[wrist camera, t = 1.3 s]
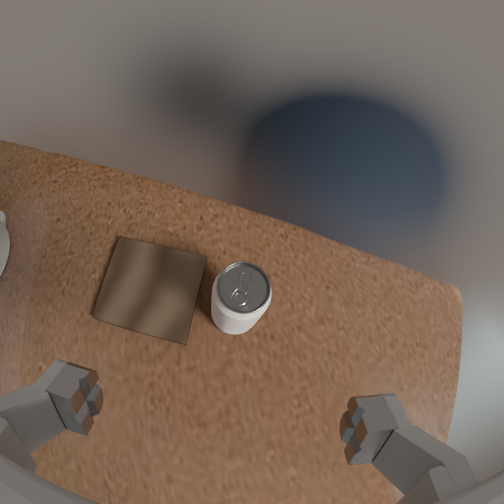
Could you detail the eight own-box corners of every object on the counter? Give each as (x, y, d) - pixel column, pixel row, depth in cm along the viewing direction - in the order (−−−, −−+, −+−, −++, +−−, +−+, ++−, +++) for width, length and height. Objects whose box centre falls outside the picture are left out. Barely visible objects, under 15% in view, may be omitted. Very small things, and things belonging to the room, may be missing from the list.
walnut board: (95, 318, 37) (92, 317, 36) (121, 239, 43) (119, 236, 42) (186, 345, 38) (185, 344, 37) (206, 259, 44) (206, 256, 42)
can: (205, 327, 39) (203, 306, 29) (218, 285, 42) (223, 250, 31) (250, 340, 39) (266, 325, 29) (261, 298, 42) (281, 268, 31)
